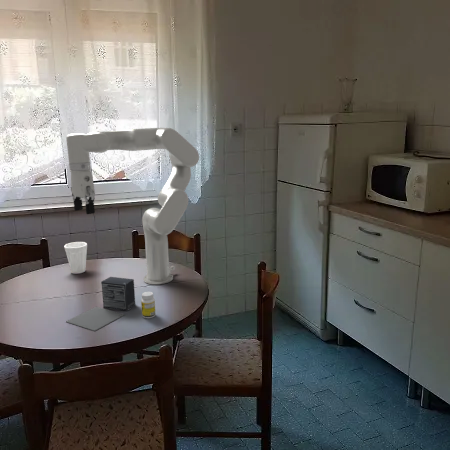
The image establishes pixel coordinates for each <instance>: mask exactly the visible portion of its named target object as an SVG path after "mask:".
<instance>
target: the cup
mask: <svg viewBox="0 0 450 450" xmlns="http://www.w3.org/2000/svg"><path fill="white" fill-rule="evenodd" d="M63 247H64V251H65V254H66V257H67V261H68V266H69V268H70V272H71V273H72V274H82V273H84V272H86V269H87V267H86V266H87V252H88V251H87V250H88V243H87V242H85V241H75V242H69V243H65V245H64V246H63ZM71 273H70V274H71Z"/></svg>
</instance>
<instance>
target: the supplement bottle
mask: <svg viewBox="0 0 450 450" xmlns="http://www.w3.org/2000/svg"><path fill="white" fill-rule="evenodd" d="M155 301H156V300H155V298H154V292H152V291H144V292H142V294H141V300H140V303H141V315H142V317H143V318H144V319H152V318H154V317H156V302H155Z"/></svg>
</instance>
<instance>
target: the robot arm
mask: <svg viewBox="0 0 450 450" xmlns="http://www.w3.org/2000/svg"><path fill="white" fill-rule="evenodd" d="M66 147H67V155H68V156H67V157H68V166H69V172H70V182H71V183H70V185H71V187H70V191H71V195H72V200H73V209H74V211H76V212H77V211H82V210H83V199H84V201H85V212H86V215H92V214H95V211H96V209H95V200H96V199H95V196H96V192H95V183H94V179H93V174H92V168H91V159H90V153H98V154H102V153H105V152H107V151H129V152H135V151H136V152H138V151H149V150H150V151H151V150H152V151H153V150H166V151H167V152H169V160H170V164H171V173H170V175H169V177H168V179H167V181H166V182H165V184H164V185H163V187H162V188H161V190H160V191H159V193H158V196H157V202H158V204H159V205H160V206H161V208H159V207H150V208H148V209H147V210H145V211H144V212H143V215H142V218H141V219H142V221H141V222H142V229H143V233H144V242H145V246H144V247H145V260H146V263H145V264H146V275H145V276H144V277H143V282H144V283H146V284H149V285H164V284H167V283H170V282H171V281H172V280H173V279H174V275H173V274H171V273H172V271H174V270H176V266H175V265H171V266H170V265H169V264H170V263H169V241H168V235H169V234H171V233H172V232H173V231H174V230H175V229H176V227H177V225H178V224H179V222H180V221H181V219H182V217H183V216H184V213H185V212H186V210H187V209H188V205H189V197H188V194H187V193H186V191H185V190H186V189H187V187H188V186H189V183H190V180H191V176H192V170H191V168H192V167H195V166H196V165H197V164H198V162H199V160H200V155H199V151H198V150H197V148H196V147H195V146H193V144H191V143H190V142H189V141H188V140H187V139H186V138H185V137H184V136H183V135H182V134H180V133H179V132H178V131H177V130H175V129H174V128H171V127H148V128H128V129H120V130H112V131H111V130H107V131H91V132H89V133H87V134H85V133H70V134H67V135H66ZM173 281H174V280H173Z"/></svg>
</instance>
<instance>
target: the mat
mask: <svg viewBox="0 0 450 450" xmlns="http://www.w3.org/2000/svg"><path fill="white" fill-rule="evenodd" d="M124 316H125V314H124V313H120V312H116V311H114V310H109V309H108V308H103V307H99V306H95V307H93V308H90V309H88V310H86V311H85V312H82V313H81V314H78V315H75V316H74V317H72V318H70V319H68V320H65V321H66V323H67V324H71V325H74V326H77V327H80V328H84V329H86V330H89V331H93V332H96V331H99V330H100V329H101V328H104V327H105V326H107V325H109V324H111V323H113V322H114V321H117V320H118V319H121V318H122V317H124Z"/></svg>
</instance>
